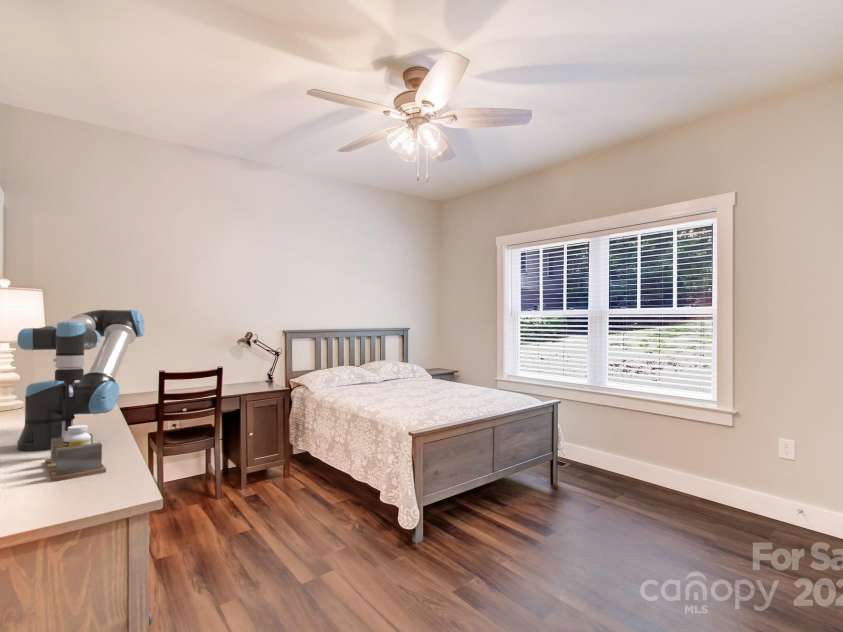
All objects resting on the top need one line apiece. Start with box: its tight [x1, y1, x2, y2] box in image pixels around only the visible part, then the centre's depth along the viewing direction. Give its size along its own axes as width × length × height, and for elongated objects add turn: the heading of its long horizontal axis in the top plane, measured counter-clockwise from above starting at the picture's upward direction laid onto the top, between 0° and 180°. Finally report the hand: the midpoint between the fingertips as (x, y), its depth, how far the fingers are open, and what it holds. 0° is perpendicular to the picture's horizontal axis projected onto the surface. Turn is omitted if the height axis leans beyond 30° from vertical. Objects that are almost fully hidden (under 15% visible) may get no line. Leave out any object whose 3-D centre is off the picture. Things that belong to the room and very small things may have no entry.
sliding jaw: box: [50, 433, 94, 464], centre depth 140 cm, size 7×10×7 cm
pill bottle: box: [63, 424, 91, 448], centre depth 132 cm, size 6×6×12 cm
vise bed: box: [44, 442, 107, 482], centre depth 134 cm, size 24×12×8 cm, turn 44°
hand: (67, 439), depth 146 cm, fingers closed
